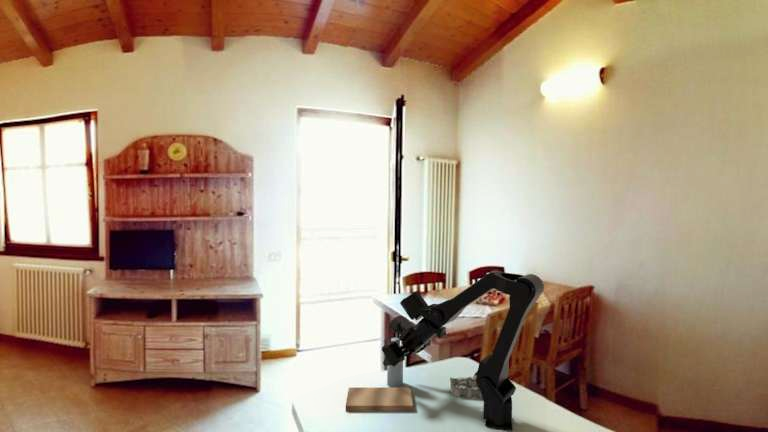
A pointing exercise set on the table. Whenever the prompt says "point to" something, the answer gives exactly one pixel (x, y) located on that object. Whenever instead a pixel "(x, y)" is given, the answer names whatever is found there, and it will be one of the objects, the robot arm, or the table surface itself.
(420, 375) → the table surface
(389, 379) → the slate-blue bottle
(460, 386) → the egg carton
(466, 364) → the table surface
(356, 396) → the walnut board
